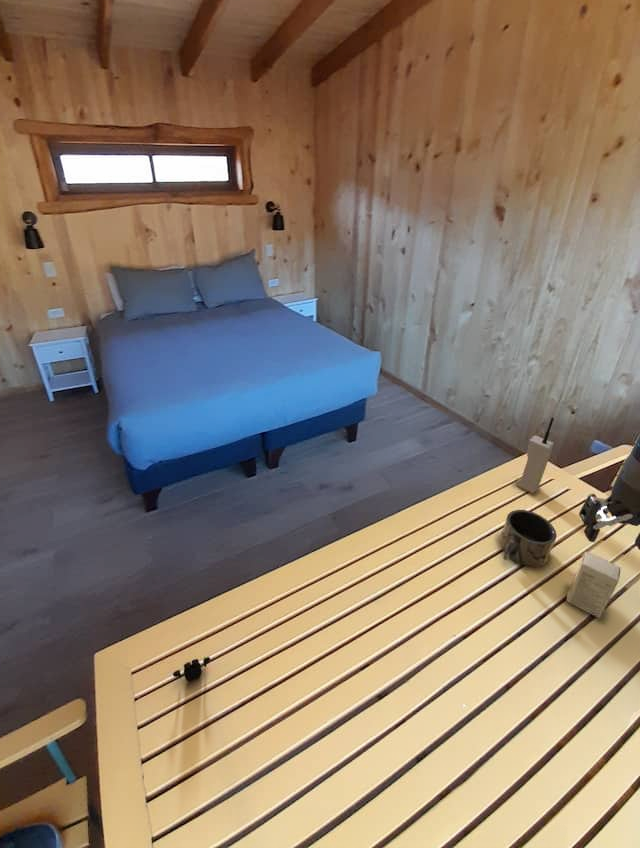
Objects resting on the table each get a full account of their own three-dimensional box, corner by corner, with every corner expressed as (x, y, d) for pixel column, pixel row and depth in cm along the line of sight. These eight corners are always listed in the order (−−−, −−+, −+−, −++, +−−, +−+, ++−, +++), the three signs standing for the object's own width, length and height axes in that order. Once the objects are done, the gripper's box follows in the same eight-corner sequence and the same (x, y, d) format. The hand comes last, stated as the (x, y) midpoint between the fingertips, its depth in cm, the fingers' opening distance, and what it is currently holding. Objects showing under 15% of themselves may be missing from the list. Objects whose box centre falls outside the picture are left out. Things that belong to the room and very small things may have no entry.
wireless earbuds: (210, 664, 78) (208, 649, 76) (214, 677, 76) (211, 662, 74) (174, 680, 76) (171, 665, 74) (177, 694, 74) (173, 680, 72)
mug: (515, 526, 106) (522, 503, 103) (555, 554, 98) (565, 532, 95) (483, 548, 100) (489, 526, 97) (523, 581, 92) (532, 558, 89)
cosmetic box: (602, 604, 87) (623, 567, 82) (599, 619, 84) (621, 582, 79) (567, 586, 91) (585, 549, 86) (564, 600, 88) (582, 563, 83)
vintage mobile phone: (520, 479, 122) (543, 410, 111) (538, 488, 119) (563, 418, 107) (515, 485, 120) (537, 415, 109) (532, 494, 116) (558, 423, 105)
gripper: (610, 488, 70) (580, 551, 78) (708, 502, 67) (668, 566, 74) (592, 461, 77) (566, 521, 84) (681, 472, 73) (646, 534, 81)
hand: (614, 542), depth 79 cm, fingers open, 8 cm apart
